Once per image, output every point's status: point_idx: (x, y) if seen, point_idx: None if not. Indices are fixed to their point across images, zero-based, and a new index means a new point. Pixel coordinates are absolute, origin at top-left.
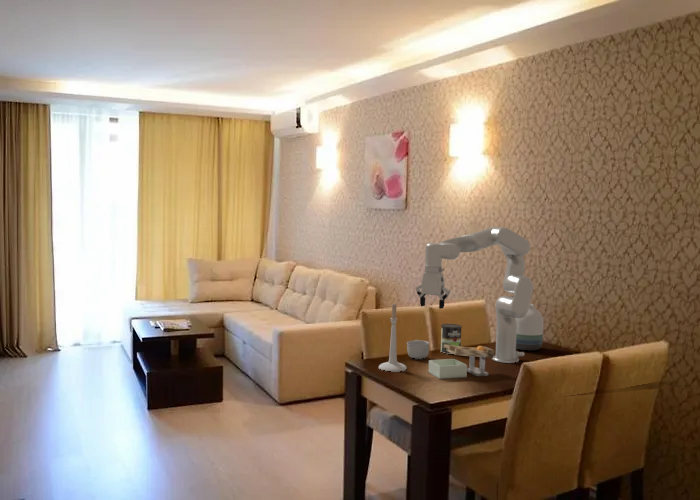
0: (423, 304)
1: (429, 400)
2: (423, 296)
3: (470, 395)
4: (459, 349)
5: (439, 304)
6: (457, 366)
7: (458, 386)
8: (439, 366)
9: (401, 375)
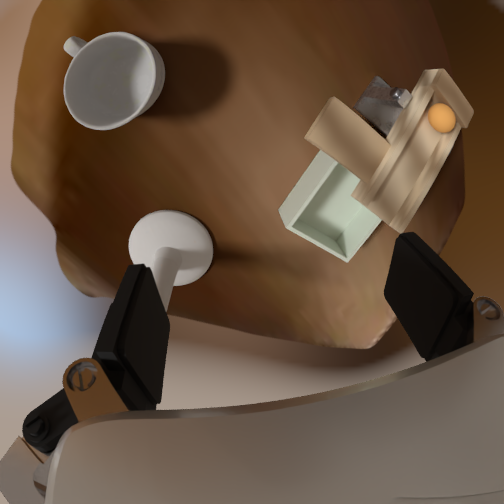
0: (158, 311)
1: (364, 345)
2: (132, 400)
3: None
4: (409, 221)
5: (405, 325)
6: None
7: (388, 258)
8: (345, 261)
9: (238, 283)
